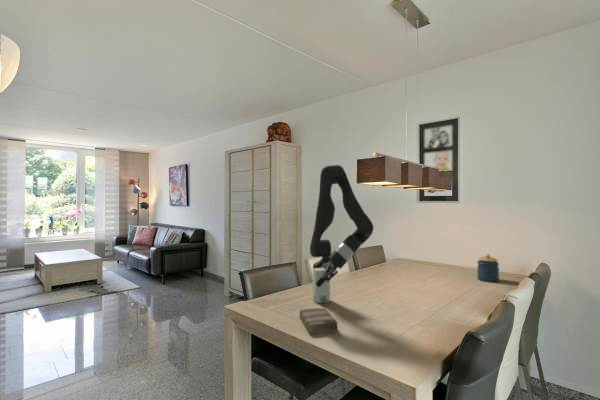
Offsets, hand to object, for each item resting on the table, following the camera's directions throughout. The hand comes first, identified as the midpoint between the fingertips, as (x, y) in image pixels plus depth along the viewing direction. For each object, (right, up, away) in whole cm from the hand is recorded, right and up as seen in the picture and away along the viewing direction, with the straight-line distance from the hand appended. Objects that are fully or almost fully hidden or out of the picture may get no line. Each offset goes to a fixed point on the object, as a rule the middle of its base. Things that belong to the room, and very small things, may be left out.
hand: (315, 283), depth 135 cm
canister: (+123, -19, +77) cm, 147 cm away
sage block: (+2, -5, 0) cm, 5 cm away
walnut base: (+1, -18, 0) cm, 18 cm away
